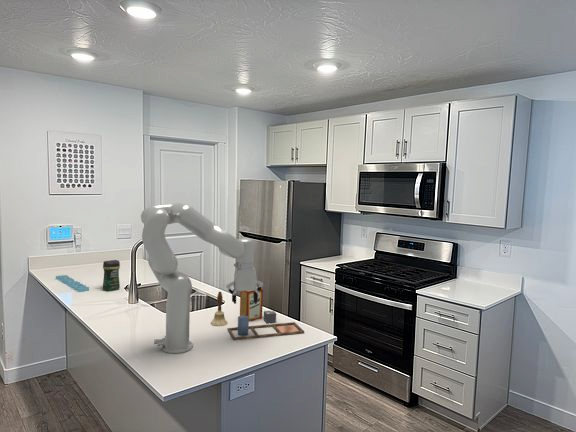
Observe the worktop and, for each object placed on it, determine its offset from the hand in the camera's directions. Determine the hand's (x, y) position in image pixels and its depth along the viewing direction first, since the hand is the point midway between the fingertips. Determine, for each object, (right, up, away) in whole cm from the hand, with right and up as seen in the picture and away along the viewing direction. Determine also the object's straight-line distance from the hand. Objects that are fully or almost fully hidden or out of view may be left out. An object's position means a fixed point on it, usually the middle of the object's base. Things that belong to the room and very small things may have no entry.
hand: (244, 302), depth 186 cm
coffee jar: (-91, -7, +68) cm, 114 cm away
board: (+9, -15, +5) cm, 18 cm away
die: (+11, -14, +19) cm, 26 cm away
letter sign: (-121, -6, +77) cm, 143 cm away
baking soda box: (+1, -14, +23) cm, 26 cm away
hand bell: (-14, -14, +14) cm, 24 cm away
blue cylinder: (-1, -15, +1) cm, 15 cm away
